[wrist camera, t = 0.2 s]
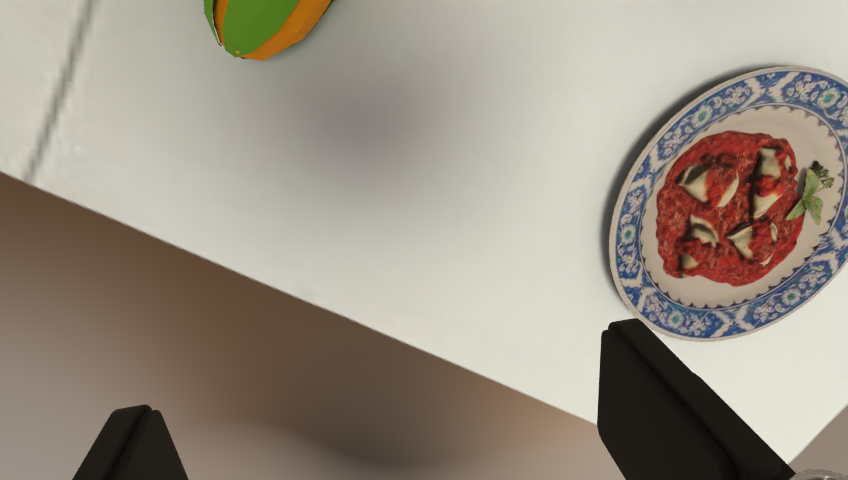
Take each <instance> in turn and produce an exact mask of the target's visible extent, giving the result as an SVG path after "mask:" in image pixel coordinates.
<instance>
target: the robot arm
mask: <svg viewBox="0 0 848 480" xmlns="http://www.w3.org/2000/svg"><path fill="white" fill-rule="evenodd" d="M597 426H598V431H599V435H600V437H601V439H602V441H603V443H604V445H605V446H606V448H607V450H608V451H609V453H610V455H611V456H612V458H613V459H614V461H615V463H616V464H617V466H618V467H619V469H620V471H621V472H622V474H623V476H624V477H625V479H626V480H848V476H846V475H843V474H841V473H837V472H832V471H827V470H805V471H802V472H799V473H795V472H794V471H793V470H792V469H791V468H790V467H789V466H788V465H787V464H786V463H785V462H784V461H783V460H782V459H781V458H780V457H779V456H778V455H777V454H776V453H775V452H774V451H773V450H772V449H771V448H770V447H769V446H768V445H767V444H766V443H765V442H764V441H763V440H762V439H761V438H760V437H759V436H758V435H757V434H756V433H755V432H754V431H753V430H752V429H751V428H750V427H749V426H748V425H747V424H746V423H745V422H744V421H743V420H742V419H741V418H740V417H739V416H738V415H737V414H736V413H735V412H734V411H733V410H732V409H731V408H730V407H729V406H728V405H727V404H726V403H725V402H724V401H723V400H722V399H721V398H720V397H719V396H718V395H717V394H716V393H715V392H714V391H713V390H712V389H711V388H710V387H709V386H708V385H707V384H706V383H705V382H704V381H703V380H702V379H701V378H700V377H699V376H697V375H696V374H695V373H693V372H692V371H691V370H690V369H689V368H688V367H687V366H686V365H685V364H684V363H683V362H682V361H681V360H680V359H679V358H678V357H677V356H676V355H675V354H674V353H673V352H672V351H671V350H670V349H669V348H668V347H667V346H666V345H665V344H664V343H663V342H662V341H661V340H660V339H659V338H658V337H657V336H656V335H655V334H654V333H653V332H652V331H651V330H650V329H649V328H648V327H647V326H646V325H645V324H644V323H643V322H642V321H641V320H639V319H637V318H633V319H628V320H622V321H616V322H612V323H610V324H609V326H608V330H605V331H603V332H602V336H601V356H600V377H599V398H598V419H597ZM72 480H188V477H187V475H186V473H185V470H184V468H183V465H182V463H181V460H180V458H179V456H178V453H177V451H176V448H175V446H174V443H173V441H172V438H171V436H170V433H169V431H168V429H167V426H166V424H165V421H164V419H163V416H162V414H161V413H160V412H159V411H158V410H153V411H152V409H151V407H150V406H148V405H139V406H133V407H128V408H122V409H117V410H115V411H113V413H112V414H111V415H110V417H109V418H108V420H107V422H106V423H105V425H104V427H103V429H102V430H101V432H100V434H99V435H98V437H97V439H96V440H95V442H94V444H93V445H92V447H91V449H90V451H89V452H88V454H87V456H86V457H85V459H84V461H83V462H82V464H81V466H80V468H79V469H78V471H77V473H76V474H75V476H74V478H73V479H72Z"/></svg>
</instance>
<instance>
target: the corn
mask: <svg viewBox="0 0 848 480" xmlns="http://www.w3.org/2000/svg"><path fill="white" fill-rule="evenodd" d="M333 1H334V0H204V10H205V15H206V17H207V20H208V22H209V24H210V26H211V29H212V31H213V33H214V36H215V38H216V40H217V36H216V33H215V30H214V26H215V28H216V30H217V34H218V37H219V40H220V43H221V44H222V45H224V46H225V50H226V51H227V52H229V53H230V54H232V55H233V56H235V57H241V58H242V59H245V58H250V59H256V60H262V61H264V60H266V59H267V58H269V57H271V56H273V55H275V54H277V53H278V52H280V51H282V50H284V49H286V48H288V47H290V46H292V45H294V44H295V43H296V42H298V41H300V40H302V39H303V38H304V37H305V36H306V35H307V34H308V33H309V31H310V30H311V29H312V28H313V27H314V26H315V25H316V24H317V22H318V21H319V20H320V18H321V17H322V16H323V14H324V13H325V12H326V10H327V9H328V8H329V6H330V5H331V4H332V2H333ZM212 10H213V20H214V26H213V23H212ZM217 42H218V40H217ZM218 44H219V42H218ZM219 45H220V44H219ZM220 46H221V45H220Z"/></svg>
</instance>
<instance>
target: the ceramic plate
mask: <svg viewBox="0 0 848 480" xmlns="http://www.w3.org/2000/svg"><path fill="white" fill-rule="evenodd" d="M609 258H610V268H611V272H612V275H613V279H614V282H615V285H616V288H617V290H618V292H619V294H620V296H621V298H622V299H623V301H624V302H625V304H626V306H627V307H628V308H629V309H630V311H631V312H632V313H633V314H634V315H635V316H636V317H637V318H638V319H639V320H641V321H642V322H643V323H644V324H645V325H647V326H648V327H650V328H651V329H653V330H655V331H657V332H659V333H661V334H664V335H666V336H669V337H672V338H676V339H680V340H686V341H695V342H713V341H721V340H728V339H733V338H737V337H741V336H744V335H748V334H751V333H753V332H756V331H759V330H761V329H763V328H766V327H768V326H770V325H773V324H775V323H777V322H778V321H780V320H782V319H783V318H785V317H787V316H788V315H790V314H791V313H793V312H795V311H796V310H798V309H799V308H800V307H802V306H803V305H805V304H806V303H808V302H809V301H810V300H811V299H813V298H814V297H815V296H816V295H817V294H818V293H819V292H820V291H821V290H822V289H823V288H824V287H825V286H826V285H828V284H829V283H830V282H831V281H832V279H833V278H834V277H835V276H836V275H837V274H838V273H839V272H840V271H841V270H842V268H843V267H844V266H845V264H846V263H847V262H848V83H847V82H846V81H844V80H843V79H842V78H840V77H838V76H835V75H833V74H831V73H828V72H825V71H822V70H819V69H814V68H809V67H798V66H785V67H773V68H767V69H761V70H757V71H753V72H749V73H746V74H743V75H740V76H738V77H735V78H732V79H730V80H728V81H726V82H723V83H721V84H719V85H717V86H715V87H713V88H712V89H710V90H708V91H707V92H705V93H703V94H702V95H700V96H699V97H697V98H696V99H694V100H693V101H692V102H690V103H689V104H687V105H686V106H685V107H684V108H682V109H681V110H680V111H679V112H678V113H676V114H675V115H674V116H673V117H672V118H671V119H670V120H669V121H668V122H667V123H666V124H665V125H664V126H663V127H662V128H661V129H660V130H659V131H658V132H657V133H656V135H655V136H654V137H653V138H652V139H651V140H650V142H649V143H648V144H647V146H646V147H645V148H644V150H643V151H642V152H641V154H640V155H639V157H638V158H637V160H636V162H635V163H634V165H633V166H632V168H631V170H630V172H629V174H628V176H627V178H626V180H625V182H624V184H623V186H622V188H621V190H620V193H619V196H618V199H617V202H616V205H615V208H614V212H613V216H612V221H611V226H610V234H609Z"/></svg>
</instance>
